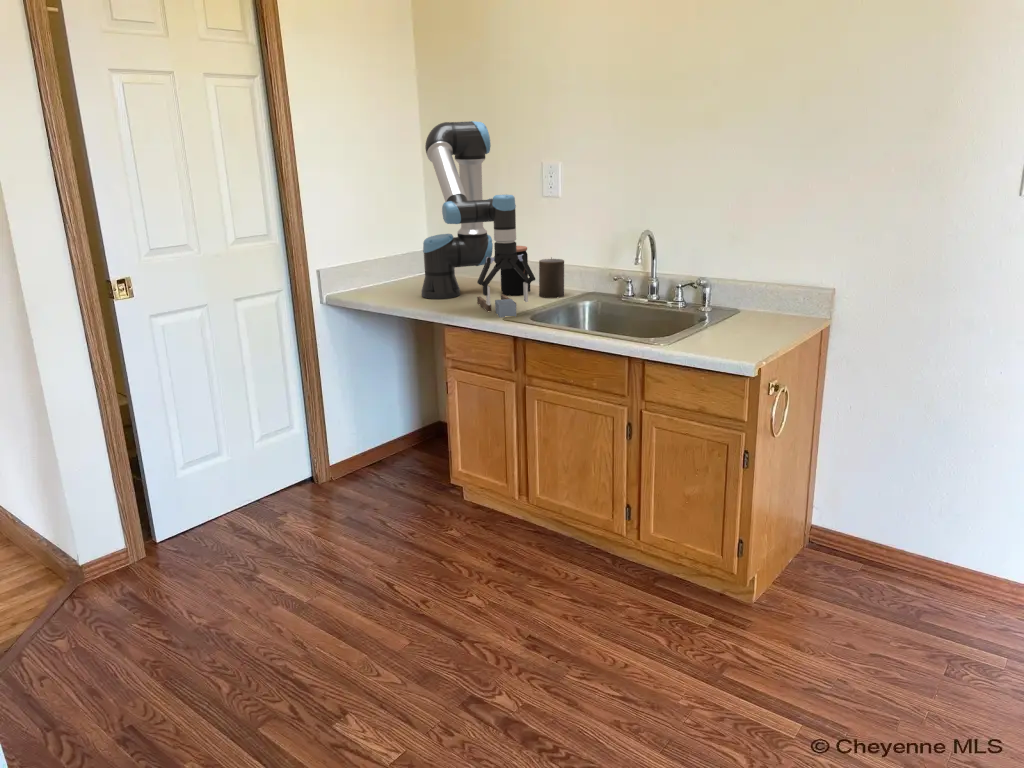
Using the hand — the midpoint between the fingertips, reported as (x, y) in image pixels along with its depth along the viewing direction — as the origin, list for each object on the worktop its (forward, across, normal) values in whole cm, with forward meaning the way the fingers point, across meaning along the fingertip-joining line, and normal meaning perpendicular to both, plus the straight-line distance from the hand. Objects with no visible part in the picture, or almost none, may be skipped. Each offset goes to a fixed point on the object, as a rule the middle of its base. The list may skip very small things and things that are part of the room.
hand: (507, 303), depth 274 cm
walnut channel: (+4, 0, -15) cm, 15 cm away
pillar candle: (+4, -25, -25) cm, 35 cm away
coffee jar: (+4, -13, -35) cm, 37 cm away
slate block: (+4, 0, -2) cm, 5 cm away
